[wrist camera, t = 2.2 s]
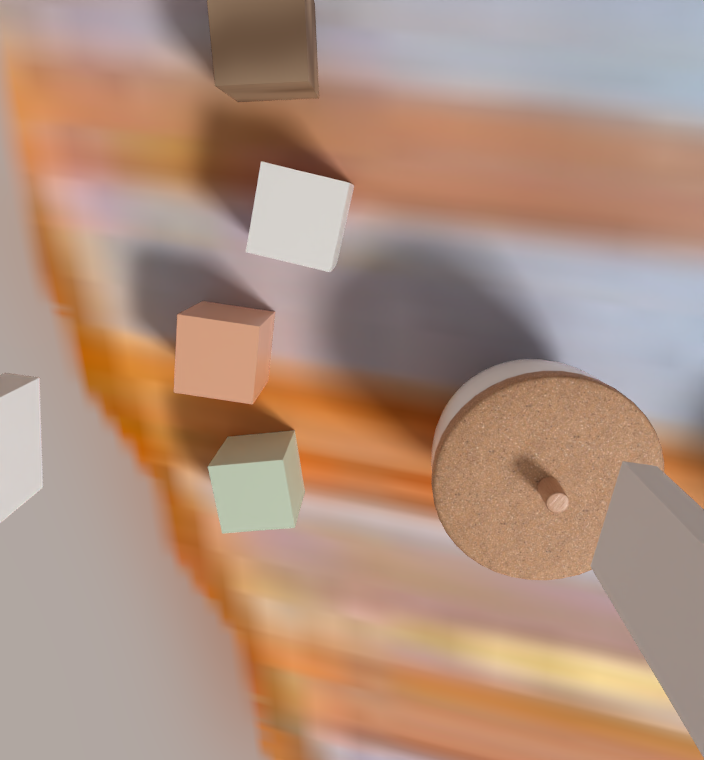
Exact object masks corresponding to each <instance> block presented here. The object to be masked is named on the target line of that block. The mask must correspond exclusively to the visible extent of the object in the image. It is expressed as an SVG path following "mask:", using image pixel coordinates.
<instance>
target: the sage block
mask: <svg viewBox="0 0 704 760" xmlns="http://www.w3.org/2000/svg"><path fill="white" fill-rule="evenodd" d="M208 470H209V475H210V479H211V484H212V489H213V493H214V498H215V502H216V507H217V511H218V516H219V521H220V525H221V530H222V533H234V532H246V531H259V530H272V529H284V528H295V526H296V522H297V518H298V515H299V511H300V508H301V504H302V500H303V497H304V493H305V489H304V483H303V477H302V471H301V465H300V459H299V453H298V447H297V441H296V435H295V430H292V431H282V432H271V433H261V434H250V435H240V436H229V437H227V439H226V440H225V442H224V443H223V445H222V446H221V447H220V449H219V450H218V452H217V453H216V455H215V456H214V458H213V459H212V461H211V462H210V464H209V465H208Z"/></svg>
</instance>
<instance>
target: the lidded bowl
mask: <svg viewBox="0 0 704 760" xmlns="http://www.w3.org/2000/svg"><path fill="white" fill-rule="evenodd" d="M623 461H625V462H632V463H639V464H645V465H652V466H657V467H658V468H659V469H660V470H661V471H663V472H664V459H663V454H662V449H661V444H660V442H659V439H658V437H657V434H656V432H655V430H654V428H653V426H652V425H651V423H650V422H649V420H648V419H647V417H646V416H645V414H644V413H643V412H642V411H641V410H640V409H639V408H638V407H637V406H636V405H635V404H634V403H633V402H632V401H631V400H629V399H628V398H627V397H626V396H624V395H623V394H622V393H620V392H619V391H618V390H616V389H615V388H613V387H611V386H609V385H607V384H605V383H603V382H602V381H600V380H599V379H597V378H596V377H594V376H592V375H590V374H588V373H586V372H584V371H582V370H580V369H578V368H575V367H572V366H569V365H566V364H563V363H560V362H555V361H548V360H542V359H521V360H513V361H508V362H504V363H501V364H498V365H495V366H492V367H490V368H488V369H486V370H484V371H482V372H480V373H478V374H477V375H475V376H474V377H472V378H471V379H469V380H468V381H467V382H466V383H465V384H464V385H463V386H461V387H460V388H459V389H458V390H457V392H456V393H455V394H454V395H453V396H452V398H451V399H450V400H449V402H448V403H447V405H446V407H445V408H444V410H443V412H442V414H441V417H440V419H439V422H438V424H437V427H436V430H435V434H434V439H433V445H432V459H431V466H432V490H433V497H434V504H435V507H436V510H437V513H438V516H439V519H440V521H441V523H442V525H443V527H444V529H445V531H446V533H447V534H448V535H449V537H450V538H451V539H452V540H453V542H454V543H455V544H456V546H458V547H459V548H460V549H461V550H462V551H463V552H464V553H465V554H466V555H467V556H469V557H470V558H471V559H473V560H474V561H476V562H477V563H479V564H480V565H482V566H484V567H486V568H489V569H491V570H493V571H495V572H498V573H501V574H504V575H507V576H511V577H516V578H522V579H530V580H552V579H560V578H566V577H571V576H575V575H579V574H582V573H585V572H587V571H590V570H592V568H591V563H592V560H593V556H594V553H595V550H596V547H597V543H598V540H599V537H600V534H601V530H602V527H603V524H604V520H605V517H606V514H607V511H608V507H609V504H610V501H611V498H612V494H613V491H614V488H615V485H616V481H617V478H618V475H619V471H620V468H621V465H622V462H623Z"/></svg>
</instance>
